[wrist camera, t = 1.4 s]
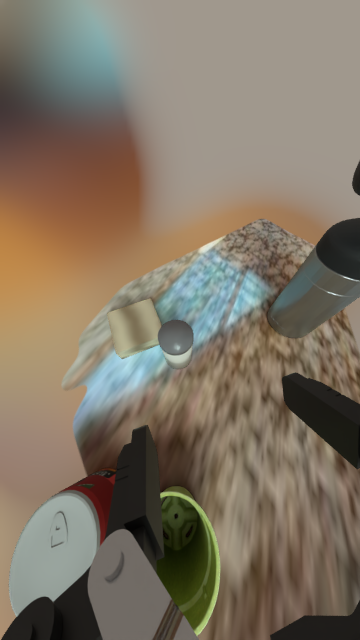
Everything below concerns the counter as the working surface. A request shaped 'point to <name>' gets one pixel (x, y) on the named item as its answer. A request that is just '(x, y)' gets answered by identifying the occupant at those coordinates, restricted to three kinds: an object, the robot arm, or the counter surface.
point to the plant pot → (189, 557)
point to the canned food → (61, 540)
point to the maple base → (134, 328)
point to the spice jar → (176, 343)
